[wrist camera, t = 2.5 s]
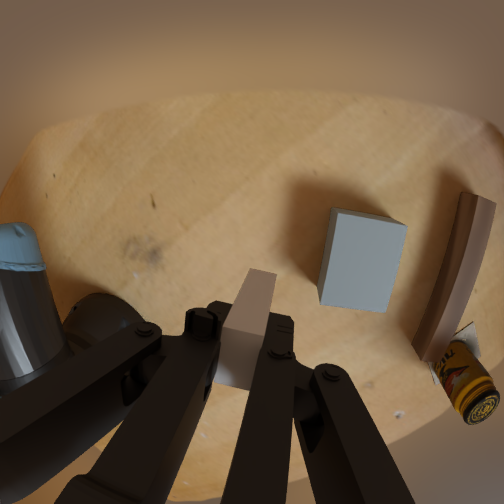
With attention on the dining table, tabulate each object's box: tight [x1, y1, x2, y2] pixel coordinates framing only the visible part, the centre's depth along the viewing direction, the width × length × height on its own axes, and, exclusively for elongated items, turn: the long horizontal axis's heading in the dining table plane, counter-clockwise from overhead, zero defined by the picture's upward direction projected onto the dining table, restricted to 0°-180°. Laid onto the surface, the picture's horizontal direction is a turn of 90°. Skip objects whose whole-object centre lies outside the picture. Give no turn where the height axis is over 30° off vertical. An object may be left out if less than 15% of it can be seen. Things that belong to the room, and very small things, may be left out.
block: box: [317, 207, 408, 313], centre depth 29 cm, size 7×9×5 cm
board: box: [412, 192, 497, 363], centre depth 28 cm, size 3×20×4 cm, turn 170°
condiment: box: [428, 322, 500, 425], centre depth 27 cm, size 7×8×12 cm
